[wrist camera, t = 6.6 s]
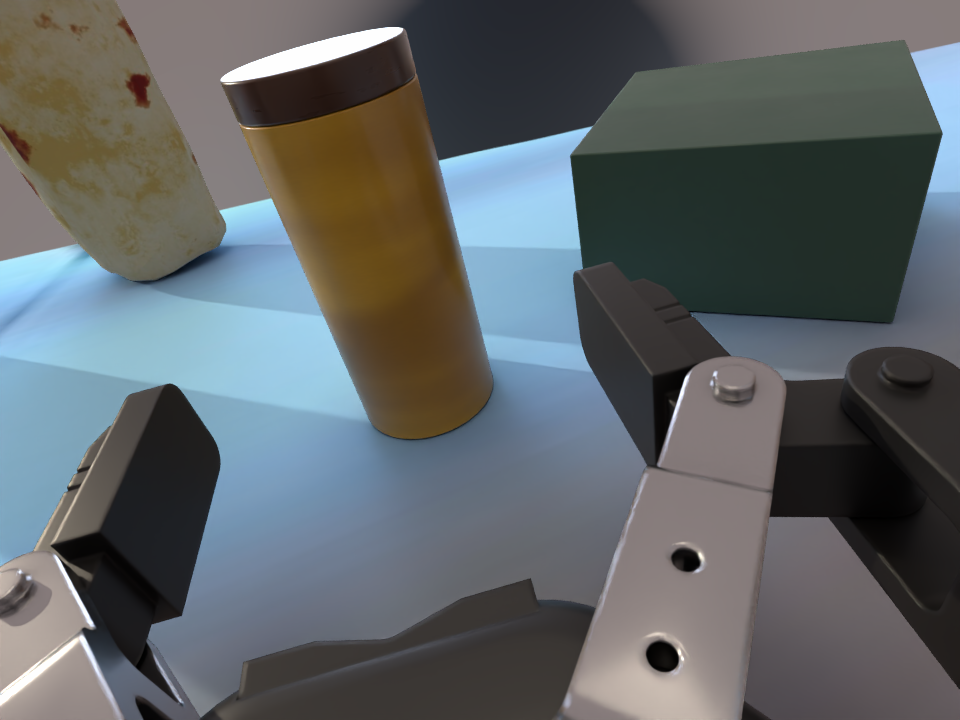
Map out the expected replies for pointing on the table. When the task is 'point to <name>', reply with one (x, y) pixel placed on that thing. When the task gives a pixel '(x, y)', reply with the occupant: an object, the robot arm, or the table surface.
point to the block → (764, 182)
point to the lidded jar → (370, 222)
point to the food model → (101, 138)
